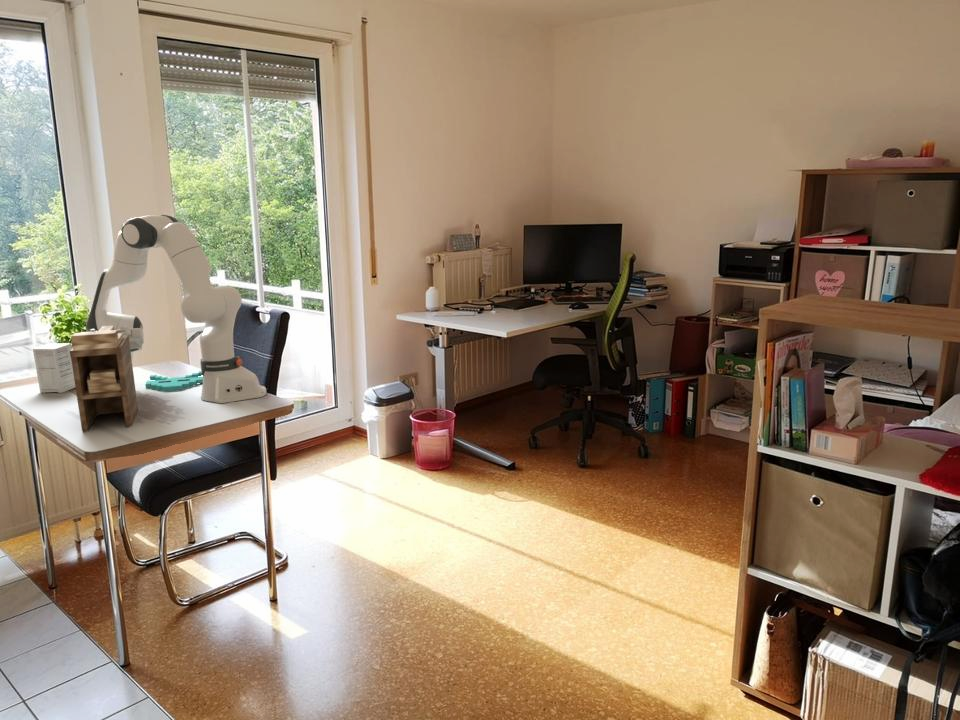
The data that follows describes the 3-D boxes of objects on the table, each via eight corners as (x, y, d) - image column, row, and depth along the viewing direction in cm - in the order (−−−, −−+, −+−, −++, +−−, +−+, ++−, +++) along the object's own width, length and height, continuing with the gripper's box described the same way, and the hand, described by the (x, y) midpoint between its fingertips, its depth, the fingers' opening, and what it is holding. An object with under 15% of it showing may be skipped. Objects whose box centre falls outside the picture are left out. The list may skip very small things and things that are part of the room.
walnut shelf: (138, 409, 253) (128, 334, 246) (131, 427, 234) (120, 347, 228) (92, 413, 248) (81, 337, 242) (82, 432, 230) (69, 351, 224)
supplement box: (79, 386, 282) (72, 343, 278) (62, 393, 273) (55, 348, 269) (56, 385, 283) (49, 342, 279) (39, 392, 275) (31, 348, 270)
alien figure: (151, 380, 290) (143, 394, 272) (150, 375, 290) (142, 388, 271) (205, 376, 295) (201, 389, 277) (204, 371, 295) (200, 384, 276)
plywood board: (128, 330, 253) (126, 317, 252) (116, 347, 228) (114, 333, 226) (89, 332, 250) (87, 319, 249) (73, 350, 224) (71, 336, 223)
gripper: (82, 337, 260) (73, 323, 247) (145, 332, 266) (139, 319, 253) (83, 354, 258) (73, 341, 246) (146, 349, 264) (140, 336, 252)
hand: (107, 330), depth 250 cm, fingers open, 8 cm apart
